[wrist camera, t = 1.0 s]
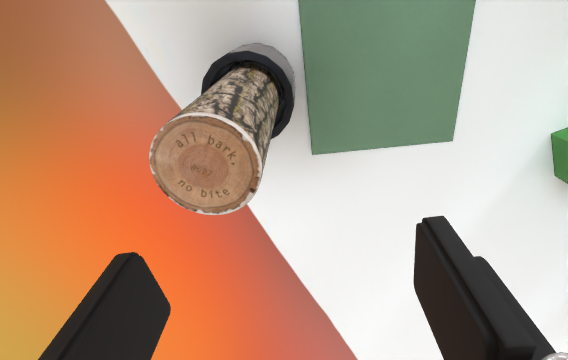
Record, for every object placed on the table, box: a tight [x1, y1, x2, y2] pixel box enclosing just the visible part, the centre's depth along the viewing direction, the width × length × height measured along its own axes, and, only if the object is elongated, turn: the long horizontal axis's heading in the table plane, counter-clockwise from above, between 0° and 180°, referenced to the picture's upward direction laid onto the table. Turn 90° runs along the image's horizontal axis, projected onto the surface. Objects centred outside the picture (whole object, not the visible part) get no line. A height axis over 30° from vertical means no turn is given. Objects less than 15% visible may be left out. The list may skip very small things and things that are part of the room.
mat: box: [299, 0, 476, 155], centre depth 38 cm, size 20×20×1 cm
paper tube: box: [149, 60, 282, 215], centre depth 28 cm, size 7×7×25 cm
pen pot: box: [201, 43, 295, 140], centre depth 35 cm, size 10×10×9 cm
